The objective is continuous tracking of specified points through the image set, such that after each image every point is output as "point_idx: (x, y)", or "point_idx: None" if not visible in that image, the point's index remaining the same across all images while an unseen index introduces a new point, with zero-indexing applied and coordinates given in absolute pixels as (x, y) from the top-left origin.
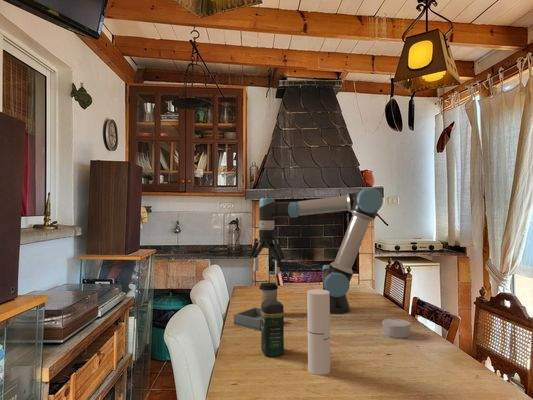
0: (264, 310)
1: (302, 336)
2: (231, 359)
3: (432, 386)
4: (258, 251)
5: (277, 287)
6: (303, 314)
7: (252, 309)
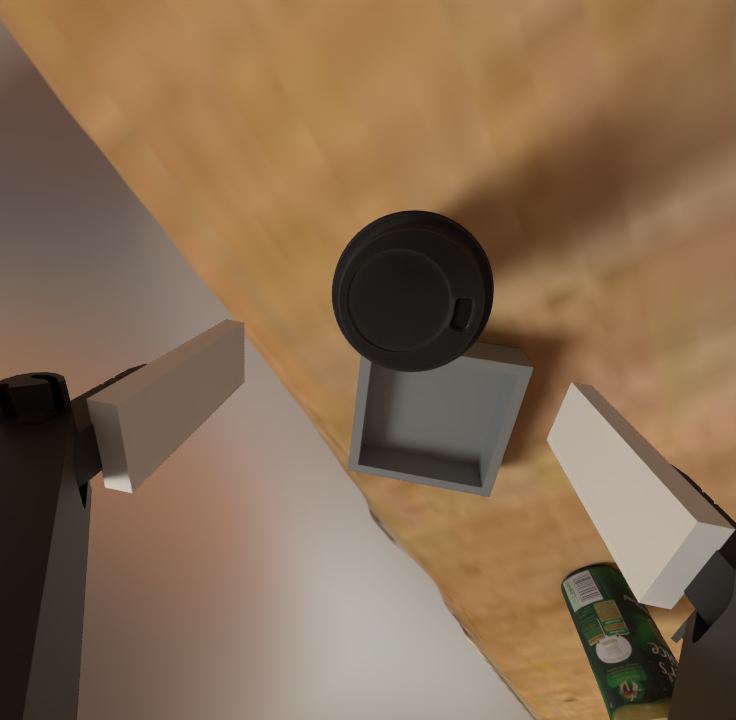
0: None
1: (671, 463)
2: (508, 635)
3: None
4: (76, 647)
5: (492, 282)
6: (611, 153)
7: (370, 371)
